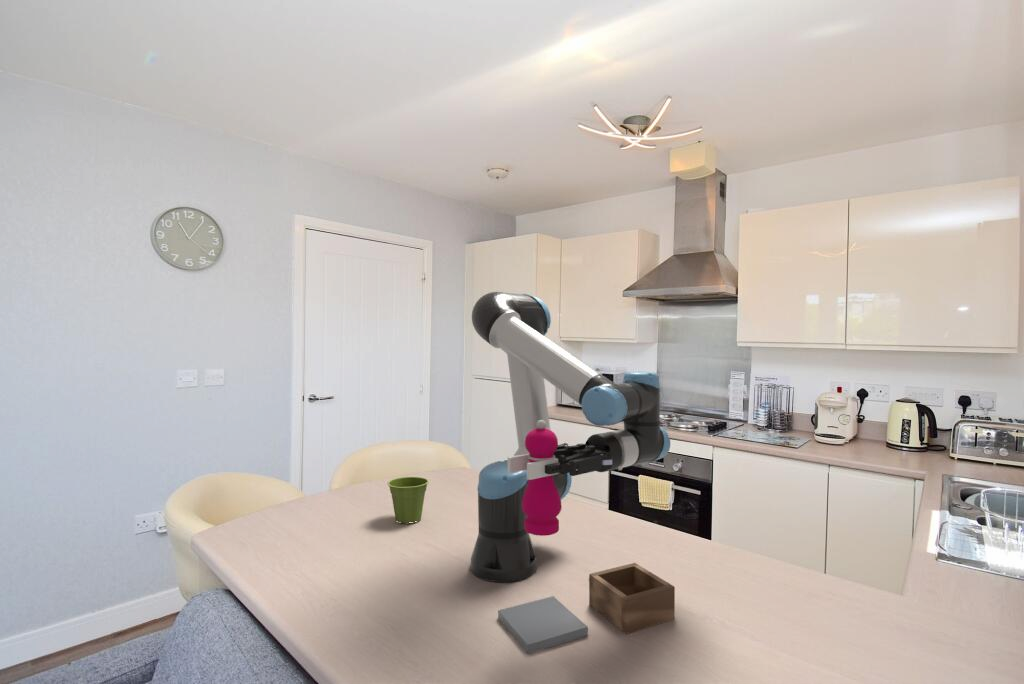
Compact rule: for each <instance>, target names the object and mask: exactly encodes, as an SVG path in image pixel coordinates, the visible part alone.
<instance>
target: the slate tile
mask: <svg viewBox="0 0 1024 684" xmlns="http://www.w3.org/2000/svg"><path fill="white" fill-rule="evenodd" d="M497 612H498V613H497V615H498V617H497V619H498V620H499V621H500V622H501V623H502V625H503V626H504V627H505V628H506V629H507V631H509V634H511V636H512V637H513V638H514V639H515V640H516V641H517V643H518V644H519V645H520V647H522V649H523V650H524V651H525V652H526V653H527V654H528V655H529V654H531V653H534V652H538V651H541V650H546V649H548V648H552V647H555V646H557V645H560V644H564V643H567V642H570V641H574V640H577V639H581V638H583V637H586V636H589V633H588V632H589V627H588V625H586V624H585V623H584V622H583V621H582V620H581V619H580V618H579V617H578V616H576V615H575V614H574V613H573V612H572V611H571V610H570V609H569V608H568V607H566V606H565V605H564V604H563V603H562V602H560V600H558V599H557V598H556V597H555V596H554V595H552V596H549V597H545V598H542V599H541V598H540V599H537V600H533V601H529V602H526V603H522V604H518V605H514V606H510V607H505V608H502V609H498V610H497Z"/></svg>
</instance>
